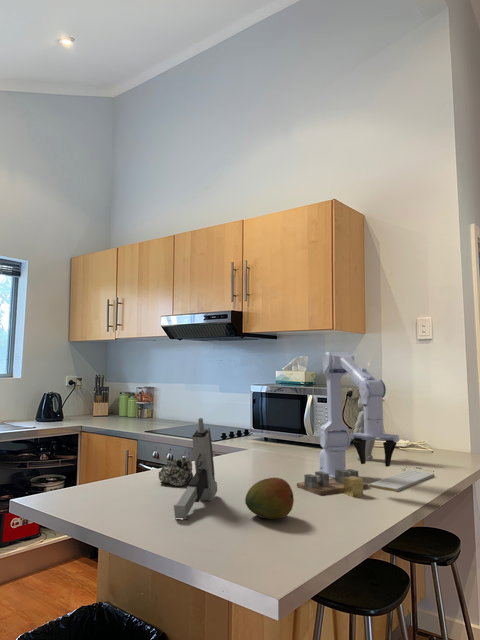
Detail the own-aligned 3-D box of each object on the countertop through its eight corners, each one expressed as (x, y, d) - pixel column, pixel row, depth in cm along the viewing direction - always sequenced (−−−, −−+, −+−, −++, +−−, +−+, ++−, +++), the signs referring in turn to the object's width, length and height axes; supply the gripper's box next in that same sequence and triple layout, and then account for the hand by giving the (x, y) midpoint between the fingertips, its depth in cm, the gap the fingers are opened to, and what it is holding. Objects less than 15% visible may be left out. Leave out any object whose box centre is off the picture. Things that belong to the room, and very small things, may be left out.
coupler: (343, 494, 146) (343, 477, 147) (354, 492, 148) (353, 476, 149) (352, 497, 143) (352, 479, 143) (363, 495, 145) (362, 478, 145)
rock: (204, 488, 159) (199, 460, 166) (192, 479, 152) (186, 450, 158) (169, 502, 161) (165, 474, 167) (155, 494, 153) (151, 465, 160)
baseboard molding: (361, 487, 157) (396, 494, 149) (361, 478, 157) (396, 484, 149) (402, 472, 180) (434, 478, 172) (402, 464, 180) (434, 469, 172)
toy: (368, 455, 213) (367, 387, 216) (387, 458, 207) (385, 387, 210) (346, 460, 200) (345, 388, 203) (365, 463, 194) (364, 388, 197)
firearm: (164, 452, 117) (197, 411, 141) (174, 540, 122) (204, 486, 146) (181, 453, 116) (212, 412, 139) (190, 541, 121) (219, 487, 144)
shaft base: (296, 486, 155) (296, 470, 155) (342, 480, 164) (342, 465, 164) (320, 495, 144) (319, 478, 145) (367, 488, 153) (367, 472, 154)
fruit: (288, 527, 114) (288, 484, 115) (238, 522, 118) (238, 480, 119) (297, 514, 125) (297, 474, 126) (251, 509, 129) (251, 471, 130)
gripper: (346, 419, 149) (347, 464, 147) (392, 421, 141) (394, 469, 139) (354, 417, 155) (356, 461, 153) (400, 419, 146) (402, 465, 144)
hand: (375, 465), depth 146 cm, fingers open, 7 cm apart
